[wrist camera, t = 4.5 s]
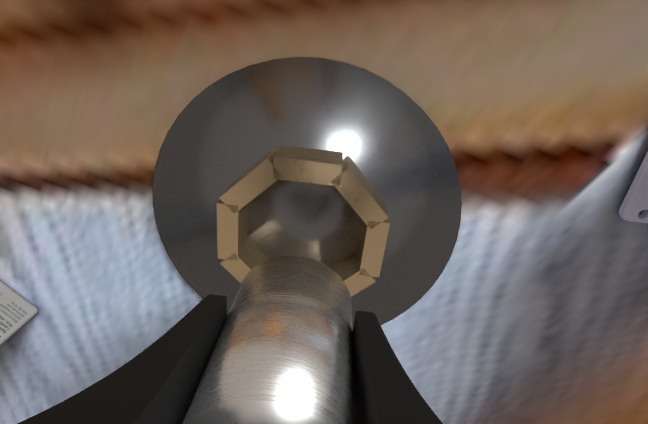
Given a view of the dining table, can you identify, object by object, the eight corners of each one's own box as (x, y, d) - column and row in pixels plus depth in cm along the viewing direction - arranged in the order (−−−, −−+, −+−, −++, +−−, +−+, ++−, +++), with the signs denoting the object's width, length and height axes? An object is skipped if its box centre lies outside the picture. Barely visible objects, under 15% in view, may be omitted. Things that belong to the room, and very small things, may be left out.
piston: (371, 282, 14) (389, 441, 8) (324, 360, 16) (313, 533, 10) (259, 238, 13) (201, 378, 8) (223, 325, 15) (155, 488, 10)
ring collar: (495, 78, 17) (523, 85, 14) (420, 341, 24) (430, 380, 21) (147, 37, 17) (110, 37, 14) (171, 312, 24) (149, 347, 21)
